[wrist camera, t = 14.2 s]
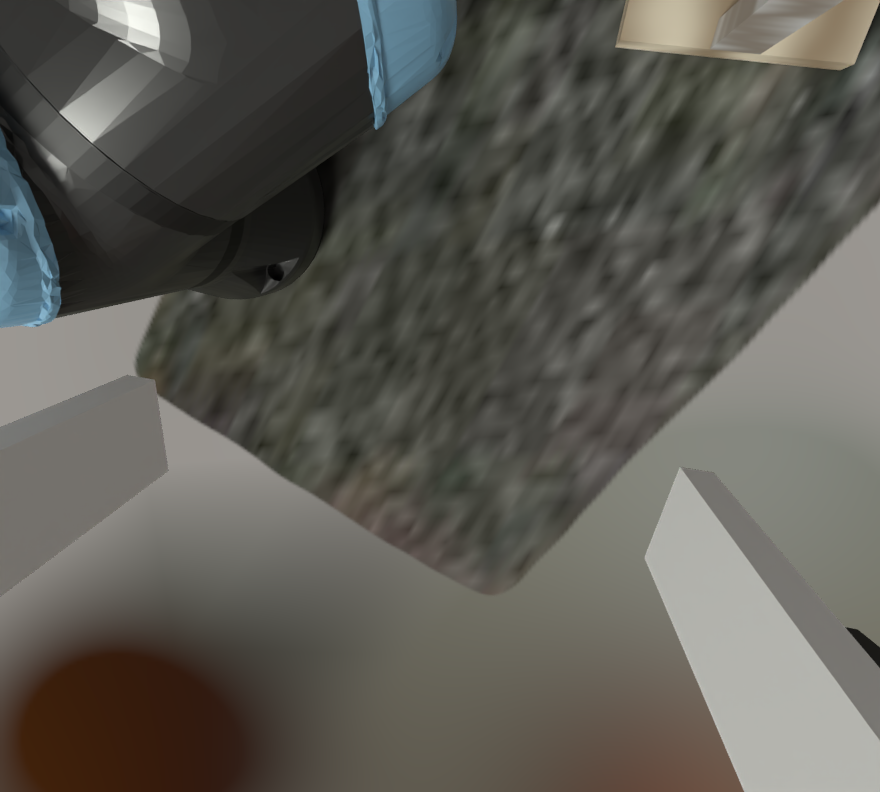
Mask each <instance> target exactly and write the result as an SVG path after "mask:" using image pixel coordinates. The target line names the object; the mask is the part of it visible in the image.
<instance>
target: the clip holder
mask: <svg viewBox="0 0 880 792" xmlns="http://www.w3.org/2000/svg"><path fill="white" fill-rule="evenodd" d="M879 3H880V0H626V2H625V7H624V11H623V16H622V20H621V24H620V29H619V33H618V37H617V42H616V46H615V47H617V48H627V49H637V50H646V51H656V52H666V53H676V54H685V55H695V56H705V57H715V58H725V59H734V60H744V61H754V62H764V63H773V64H783V65H793V66H803V67H812V68H822V69H832V70H842V69H844V68H846V67H849V66H851V65H853V64H855V61H856V59H857V56H858V54H859V52H860V49H861V47H862V44H863V42H864V39H865V37H866V34H867V32H868V30H869V27H870V25H871V22H872V20H873V17H874V15H875V12H876V10H877V7H878V5H879Z"/></svg>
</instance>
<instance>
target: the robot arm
mask: <svg viewBox="0 0 880 792" xmlns="http://www.w3.org/2000/svg"><path fill="white" fill-rule="evenodd" d="M456 6H457V2H456V0H0V328H4V327H12V326H20V325H22V326H30V327H37V326H40V325H42V324H46V323H48V322H51V321H52V320H54V319H55V318H59V317H63V316H67V315H73V314H77V313H81V312H86V311H90V310H95V309H100V308H104V307H109V306H113V305H118V304H122V303H127V302H132V301H136V300H141V299H145V298H150V297H154V296H159V295H163V294H168V293H172V292H177V291H181V290H186V289H188V290H192V291H196V292H200V293H204V294H208V295H212V296H216V297H221V298H226V299H250V298H256V297H260V296H263V295H267V294H270V293H273V292H276V291H279V290H281V289H283V288H285V287H287V286H288V285H290V284H291V283H292V282H294V281H295V280H296V279H297V278H298V277H300V276H301V274H302V273H303V272H304V271H305V270H306V269H307V267H308V266H309V264H310V263H311V261H312V259H313V258H314V256H315V254H316V251H317V249H318V246H319V243H320V240H321V236H322V231H323V225H324V198H323V191H322V186H321V182H320V178H319V174H318V172H317V169H316V166H318V165H319V164H321V163H322V162H324V161H325V160H327V159H328V158H329V157H331V156H332V155H334V154H335V153H337V152H338V151H339V150H341V149H342V148H344V147H345V146H347V145H348V144H349V143H351V142H352V141H354V140H355V139H357V138H358V137H359V136H361V135H362V134H364V133H365V132H367V131H368V130H369V129H371V128H372V127H374V128H375V129H376V130H377V129H378V128H380V127H381V126H383V124H384V123H385V121H386V116H387V115H388V114H389V113H390V112H392V111H393V110H394V109H395V108H397V107H398V106H399V105H400V104H402V103H403V102H404V101H405V100H407V99H408V98H409V97H410V96H412V95H413V94H414V93H415V92H417V91H418V90H419V89H421V88H422V87H423V86H424V85H426V84H427V83H428V82H429V81H431V80H432V79H433V78H434V77H435V76H436V75H438V73H439V72H440V71H441V70H442V69H443V67H444V66H445V64H446V62H447V61H448V58H449V56H450V54H451V51H452V48H453V45H454V40H455V36H456V26H457V7H456ZM167 471H168V464H167V458H166V451H165V445H164V438H163V431H162V424H161V418H160V411H159V404H158V398H157V391H156V384H155V380H153V379H147V378H141V377H135V376H129V375H126V376H124V377H121V378H119V379H117V380H114V381H112V382H109V383H107V384H104V385H102V386H99V387H97V388H95V389H92V390H90V391H87V392H85V393H82V394H80V395H78V396H75V397H73V398H70V399H68V400H65V401H63V402H61V403H58V404H56V405H54V406H51V407H48V408H46V409H43V410H41V411H39V412H36V413H34V414H31V415H29V416H26V417H24V418H22V419H19V420H17V421H14V422H12V423H9V424H7V425H5V426H2V427H0V597H1V596H2V595H3V594H5V593H6V592H7V591H9V590H10V589H11V588H13V587H14V586H15V585H17V584H18V583H19V582H21V581H22V580H23V579H25V578H26V577H27V576H29V575H30V574H31V573H33V572H34V571H35V570H37V569H38V568H39V567H41V566H42V565H43V564H45V563H46V562H47V561H49V560H50V559H51V558H53V557H54V556H55V555H57V554H58V553H59V552H61V551H62V550H63V549H65V548H66V547H67V546H68V545H70V544H71V543H73V542H74V541H75V540H77V539H78V538H79V537H81V536H82V535H83V534H85V533H86V532H87V531H89V530H90V529H91V528H93V527H94V526H95V525H97V524H98V523H99V522H101V521H102V520H103V519H105V518H106V517H108V516H109V515H110V514H112V513H113V512H114V511H116V510H117V509H118V508H120V507H121V506H122V505H123V504H125V503H126V502H128V501H129V500H130V499H131V498H133V497H134V496H135V495H137V494H138V493H139V492H141V491H142V490H143V489H145V488H146V487H147V486H149V485H150V484H151V483H153V482H154V481H156V480H157V479H158V478H160V477H161V476H162V475H164V474H165V473H166V472H167ZM645 560H646V563H647V565H648V567H649V570H650V572H651V574H652V577H653V579H654V581H655V584H656V586H657V588H658V591H659V593H660V595H661V598H662V600H663V602H664V604H665V607H666V609H667V612H668V614H669V616H670V619H671V621H672V623H673V626H674V628H675V630H676V633H677V635H678V637H679V640H680V642H681V644H682V647H683V649H684V652H685V654H686V656H687V659H688V661H689V663H690V666H691V668H692V670H693V672H694V675H695V677H696V680H697V682H698V684H699V687H700V689H701V691H702V694H703V696H704V698H705V701H706V703H707V705H708V708H709V710H710V712H711V715H712V717H713V719H714V722H715V724H716V726H717V729H718V731H719V734H720V736H721V738H722V740H723V743H724V745H725V747H726V750H727V752H728V755H729V757H730V759H731V761H732V763H733V766H734V769H735V771H736V773H737V775H738V778H739V780H740V782H741V785H742V787H743V790H744V792H880V647H879V646H877V645H876V644H875V643H874V642H872V641H871V640H870V639H869V638H867V637H866V636H865V635H864V634H862V633H861V632H860V631H859V630H857V629H852V628H846V627H844V625H843V624H842V623H841V622H840V621H839V619H838V618H836V616H835V615H834V614H833V612H832V611H831V610H830V609H829V608H828V607H827V605H826V604H825V603H824V602H823V601H822V599H821V598H820V597H819V596H818V595H817V594H816V592H815V591H814V590H813V589H812V588H811V586H810V585H809V584H808V583H807V582H806V581H805V579H804V578H803V577H802V576H801V575H800V574H799V573H798V571H797V570H796V569H795V568H794V567H793V565H792V564H791V563H790V562H789V561H788V559H787V558H786V557H785V556H784V555H783V553H782V552H781V551H780V550H779V549H778V548H777V546H776V545H775V544H774V543H773V542H772V541H771V539H770V538H769V537H768V536H767V535H766V533H764V531H763V530H762V529H761V528H760V526H759V525H758V524H757V523H756V522H755V521H754V519H753V518H752V517H751V516H750V515H749V514H748V512H747V511H746V510H745V509H744V508H743V507H742V505H741V504H740V503H739V502H738V501H737V499H736V498H735V497H734V496H733V495H732V493H731V492H730V491H729V490H728V489H727V488H726V486H724V484H723V483H722V482H721V480H720V479H719V478H718V477H717V476H716V475H715V473H713V472H708V471H702V470H696V469H690V468H684V467H680V468H679V470H678V473H677V476H676V478H675V481H674V483H673V486H672V489H671V491H670V494H669V496H668V499H667V501H666V504H665V506H664V509H663V511H662V514H661V517H660V519H659V522H658V525H657V527H656V529H655V532H654V534H653V537H652V540H651V542H650V545H649V547H648V550H647V552H646V555H645Z"/></svg>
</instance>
